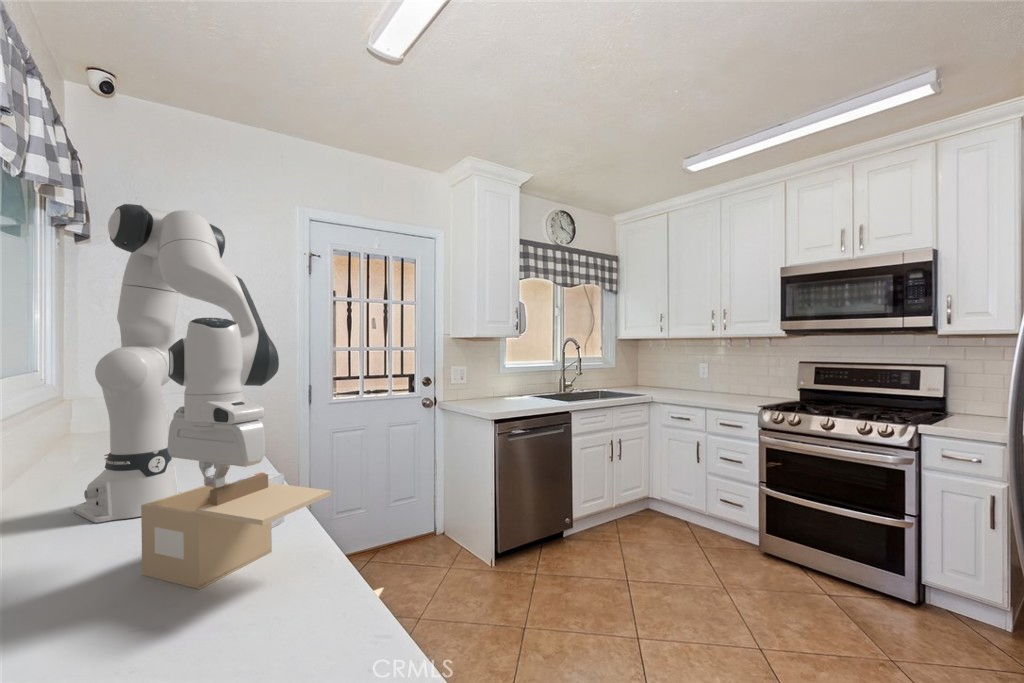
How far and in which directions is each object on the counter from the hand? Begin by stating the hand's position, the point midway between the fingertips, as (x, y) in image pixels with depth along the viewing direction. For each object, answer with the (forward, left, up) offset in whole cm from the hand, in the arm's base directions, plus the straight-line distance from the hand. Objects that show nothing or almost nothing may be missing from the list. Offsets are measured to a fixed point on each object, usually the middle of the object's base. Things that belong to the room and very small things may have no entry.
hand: (214, 486), depth 83 cm
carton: (-2, 0, -14) cm, 14 cm away
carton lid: (+12, 0, -2) cm, 12 cm away
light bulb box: (-7, +14, -14) cm, 22 cm away
